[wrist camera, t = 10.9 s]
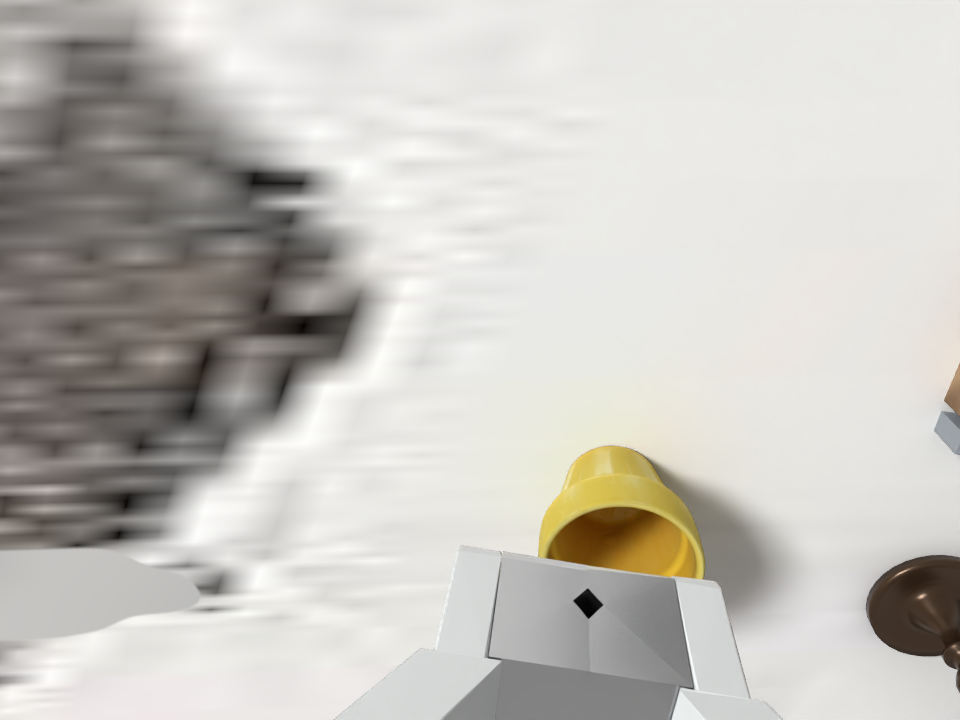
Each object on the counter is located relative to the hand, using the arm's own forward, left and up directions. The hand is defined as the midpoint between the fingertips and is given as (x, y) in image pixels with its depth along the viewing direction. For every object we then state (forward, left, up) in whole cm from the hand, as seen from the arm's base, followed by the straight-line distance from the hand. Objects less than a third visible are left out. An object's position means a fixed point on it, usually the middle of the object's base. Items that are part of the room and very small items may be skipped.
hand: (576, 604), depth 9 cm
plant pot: (+24, +6, -39) cm, 46 cm away
